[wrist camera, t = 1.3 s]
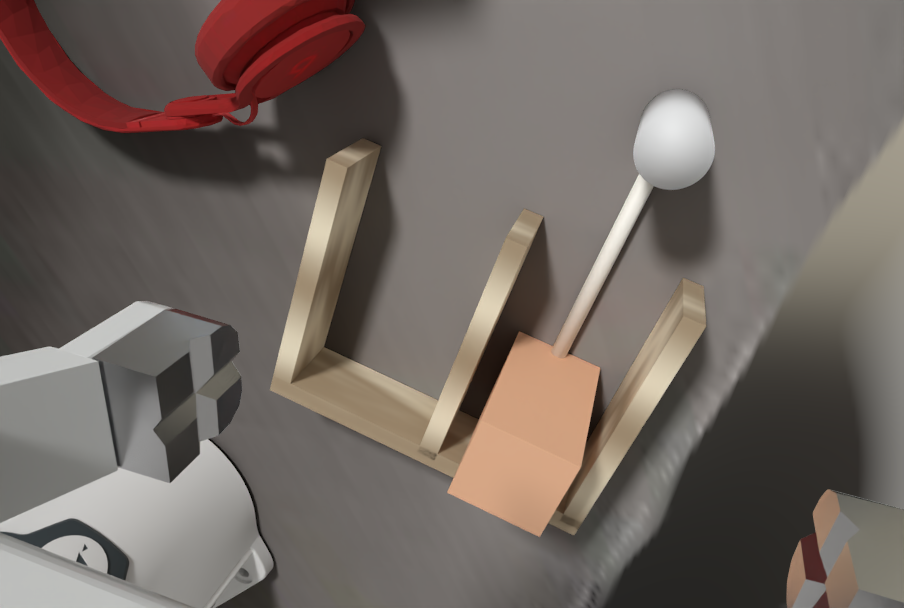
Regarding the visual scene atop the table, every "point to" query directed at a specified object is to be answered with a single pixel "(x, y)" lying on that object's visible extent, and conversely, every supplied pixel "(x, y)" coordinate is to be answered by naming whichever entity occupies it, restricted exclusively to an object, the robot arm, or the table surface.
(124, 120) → the headphones
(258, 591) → the table surface
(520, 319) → the table surface
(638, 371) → the lane shelf
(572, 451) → the block
